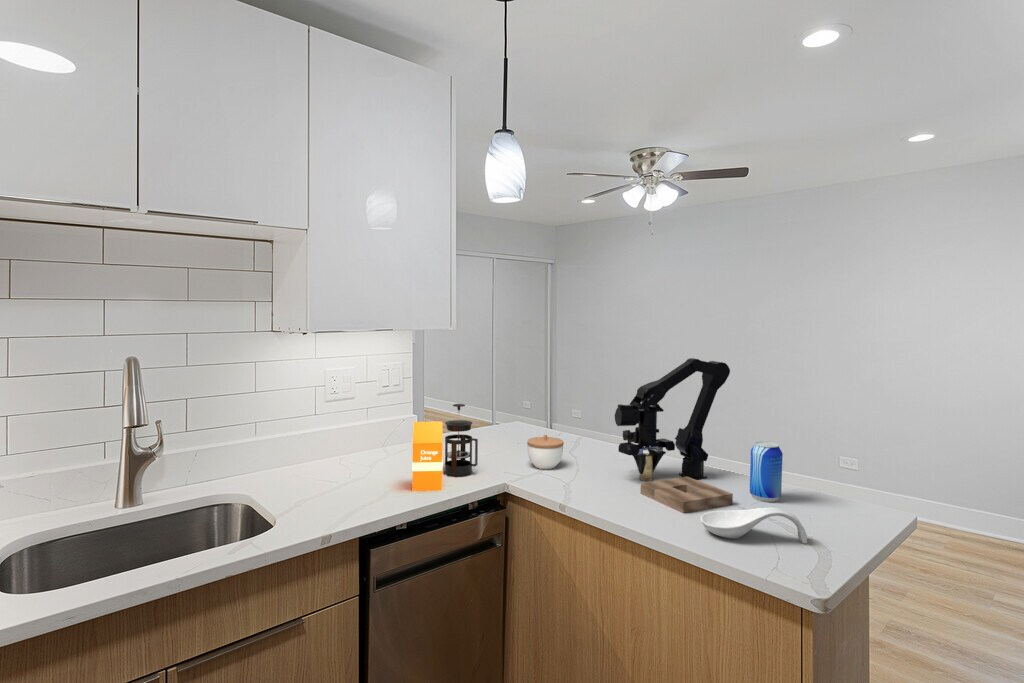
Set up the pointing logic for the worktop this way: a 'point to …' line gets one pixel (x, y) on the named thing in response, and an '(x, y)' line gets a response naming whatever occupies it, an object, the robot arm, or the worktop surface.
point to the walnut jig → (686, 494)
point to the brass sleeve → (647, 468)
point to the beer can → (766, 471)
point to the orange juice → (427, 456)
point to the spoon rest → (745, 521)
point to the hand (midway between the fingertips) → (646, 473)
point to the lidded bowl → (545, 451)
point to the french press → (460, 466)
